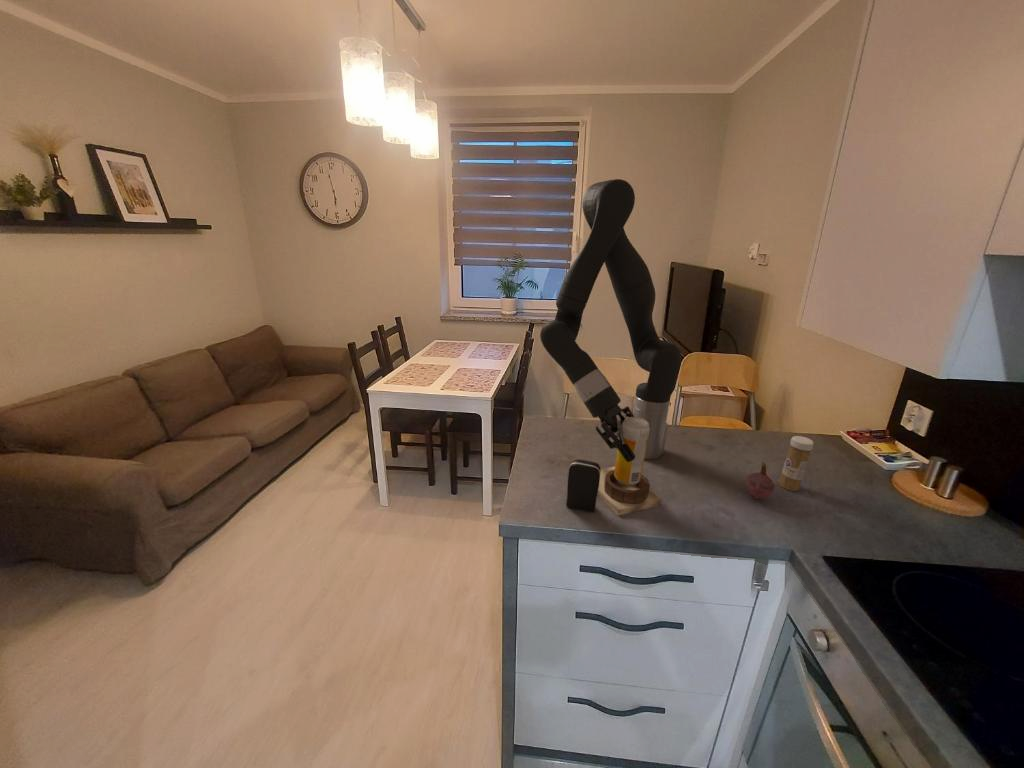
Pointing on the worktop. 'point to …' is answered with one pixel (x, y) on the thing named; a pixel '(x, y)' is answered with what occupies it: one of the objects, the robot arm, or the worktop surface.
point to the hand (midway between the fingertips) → (637, 454)
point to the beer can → (637, 442)
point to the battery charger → (583, 485)
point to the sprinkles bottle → (796, 463)
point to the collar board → (625, 506)
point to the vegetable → (760, 484)
